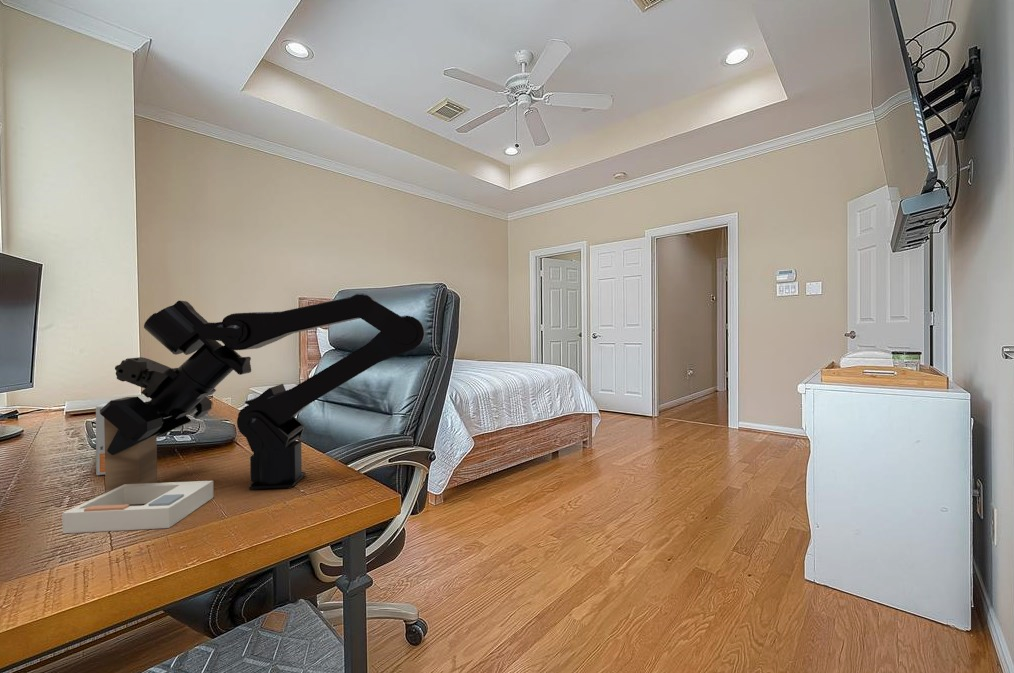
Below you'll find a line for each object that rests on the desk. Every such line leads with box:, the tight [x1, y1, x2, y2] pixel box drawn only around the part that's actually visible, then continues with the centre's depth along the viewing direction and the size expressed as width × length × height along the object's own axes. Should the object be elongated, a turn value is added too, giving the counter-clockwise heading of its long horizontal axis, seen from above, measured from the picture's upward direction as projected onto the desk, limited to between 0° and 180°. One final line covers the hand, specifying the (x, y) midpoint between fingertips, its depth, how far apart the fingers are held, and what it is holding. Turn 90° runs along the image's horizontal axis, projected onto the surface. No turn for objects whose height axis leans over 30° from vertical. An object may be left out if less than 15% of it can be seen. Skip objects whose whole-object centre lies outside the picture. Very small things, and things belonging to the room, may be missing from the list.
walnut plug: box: [104, 418, 158, 493], centre depth 67 cm, size 4×4×13 cm
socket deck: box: [61, 480, 214, 534], centre depth 59 cm, size 12×10×3 cm
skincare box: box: [95, 400, 148, 476], centre depth 77 cm, size 6×4×12 cm
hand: (121, 448), depth 67 cm, fingers closed on walnut plug, 4 cm apart
